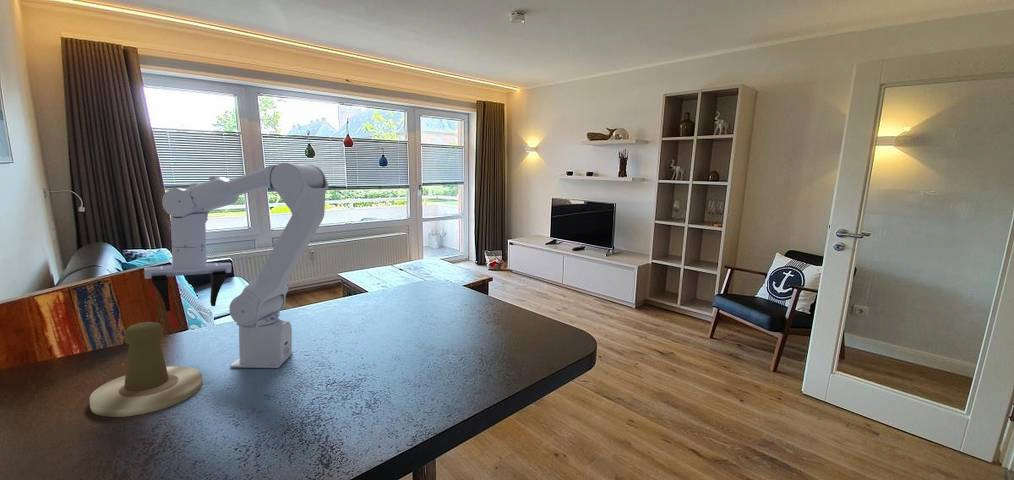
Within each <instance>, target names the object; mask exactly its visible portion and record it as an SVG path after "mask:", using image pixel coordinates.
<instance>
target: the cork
mask: <svg viewBox="0 0 1014 480" xmlns="http://www.w3.org/2000/svg"><path fill="white" fill-rule="evenodd" d="M123 337H124V342H125V343H127V345H129V346H128V353H127V360H126V361H127V362H126V369H125V375H126V376H125V375H124V376H125V385H124V389H125V390H128V391H143V390H148V389H152V388H155V387H158V386H160V385H162V384H164V383H166V382H167V381H168V380H169V377H168V373H167V368H166V367H167V366H166V365H167V364H166V361H165V356H164V352H163V348H162V344H161V339H162V338H163V337H164V328H163V325H162V324H160V323H159V322H155V321H144V322H138V323H135V324H131V325H130V326H128V327H127V328H126V329H125V331H124V335H123Z"/></svg>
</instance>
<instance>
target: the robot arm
mask: <svg viewBox="0 0 1014 480" xmlns="http://www.w3.org/2000/svg"><path fill="white" fill-rule="evenodd" d="M208 179H209V180H207V181H205V182H201V183H197V182H196V183H195V182H194V183H190V184H188V185H189V186H188V187H187V188H179V187H172V188H170V189H169V190H167V191H166V192H165V193H164V194H163V196H162V199H161V203H162V207H163V210H164V211H165V212H166V213H167V214H168V215H170V228H171V229H170V230H171V231H170V232H171V233H170V235H171V237H170V238H171V259H172V260H171V261H172V264H169V265H160V266H159V265H157V266H151V267H150V266H149V267H144V268H143V271H144V279H145V280H146V279H147V280H148V279H151V282H152V284H153V286H154V288H156V290H157V291H158V293H159V295H160V297H161V299H162V301H163V304H164V306H165V313H166V312H167V313H168V312H171V303H170V297H169V296H170V295H169V278H168V277H178V276H180V277H181V276H193V275H205V274H209V278H210V301H209V302H210V305H211V307H215V306H216V303H217V298H218V296H219V292H220V290H221V288H222V286H223V284H224V282H225V281H226V279H227V274H228V273H229V274H230V273H232V263H231V262H207V233H206V231H207V230H206V229H207V228H206V223H207V221H208V215H209V213H210V212H211V211H214V210H217V209H220V208H224V207H226V206H230V205H233V204H236V203H237V202H238V200H239V198H240V197H239V196H240V195H245V194H249V193H253V192H257V191H260V190H265V189H271V190H273V189H274V191H275V192H276V193H277V195H278V196H279V197H280V199H282V201H283V203H285V205H286V207H288V209H289V210H290V212H291V217H290V219H289V220H288V222H287V224H286V226H284V229H283V231H282V233H281V235H280V236H279V237H278V239H277V241H276V244H275V245H274V246H273V249H272V250H271V252H270V254H269V256H268V257H267V260H266V261H265V263H264V265H263V266H262V268H261V270H260V272H259V273H258V275H257V277H256V278H254V280H252V281H251V282H249V284H247V285H246V286H245V287H244V288H243V290H242V292H241V293H240V294H239V295H237V296H236V297H235V298H233V299H232V300H231V301H230V302H229V303H230V304H229V315H230V316H231V318H232V320H233V321H234V322H235V323H236V326H238V338H239V339H238V342H239V345H238V347H239V348H238V349H239V358H237V359H236V360H235V361H233V362H232V363H231V364H230V368H240V369H242V368H246V369H247V368H248V369H249V368H250V369H251V368H257V369H262V368H263V369H278V368H280V367H281V366H282V365H283V364H284V363H285V361H287V360H288V358H289V357H291V355H292V354H293V353H294V351H293V349H292V347H293V344H292V343H293V340H292V339H293V336H292V335H293V334H292V333H293V330H292V324H291V322H290V321H287V320H282V319H280V318H279V317H281V315H280V311H282V310H283V308H284V307H285V305H286V295H287V293H288V292H289V290H290V289H289V287H288V285H286V284H287V282H288V281H289V279H290V277H291V276H292V273H293V272H294V270H295V268H296V267H297V265H298V263H299V261H300V260H301V258H302V256H303V255H304V253H305V251H306V250H307V248H308V246H309V244H310V243H311V241H312V239H313V237H314V235H315V234H316V231H318V229H319V227H320V225H321V223H322V222H323V219H324V218H325V212H326V211H325V210H326V209H325V207H326V206H325V205H326V193H327V191H328V189H329V182H328V179H327V177H326V175H325V173H324V172H323V170H322V169H321V168H320V167H318V166H317V165H314V164H307V165H306V164H298V163H296V164H295V163H291V162H280V163H278V164H271V165H267V166H265V167H263V168H260V169H258V170H256V171H253V172H249V173H247V174H244V175H242V176H240V177H236V178H234V179H229V178H227V177H224V176H219V175H212V176H210V177H208Z"/></svg>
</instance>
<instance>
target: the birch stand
mask: <svg viewBox="0 0 1014 480" xmlns="http://www.w3.org/2000/svg"><path fill="white" fill-rule="evenodd" d="M166 368H167V373H168V377H169V380H168V381H167V382H166V383H164V384H162V385H160V386H158V387H155V388H152V389H148V390H143V391H128V390H125V389H124V385H125V376H126V374H125V375H122V376H120V377H117V378H114V379H112V380H110V381H107V382H106V383H103V384H102V385H99V387H97V388H96V389H95V390H94V391H93V392H92V393H90V395H89V398H88V399H89V409H90V411H91V413H93V414H95V415H96V416H97V415H98V416H101V417H106V418H124V417H125V418H126V417H132V416H133V417H134V416H139V415H144V414H148V413H154V412H156V411H161V410H163V409H167V408H170V407H173V406H175V405H177V404H179V403H182V402H183V401H185V400H188V399H189V398H190V397H191V398H192V397H193V396H194V395H196V393H198V392H199V390H200V389H201V388H202V387H203V373H202V372H201V371H200V370H198V369H197V368H194V367H190V366H178V365H177V366H172V365H171V366H166Z"/></svg>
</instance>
